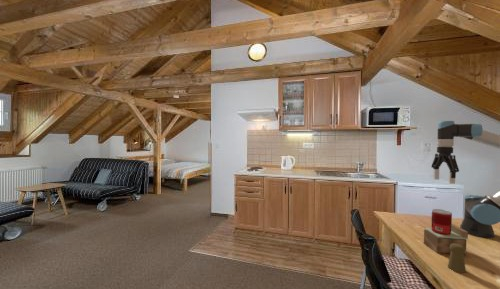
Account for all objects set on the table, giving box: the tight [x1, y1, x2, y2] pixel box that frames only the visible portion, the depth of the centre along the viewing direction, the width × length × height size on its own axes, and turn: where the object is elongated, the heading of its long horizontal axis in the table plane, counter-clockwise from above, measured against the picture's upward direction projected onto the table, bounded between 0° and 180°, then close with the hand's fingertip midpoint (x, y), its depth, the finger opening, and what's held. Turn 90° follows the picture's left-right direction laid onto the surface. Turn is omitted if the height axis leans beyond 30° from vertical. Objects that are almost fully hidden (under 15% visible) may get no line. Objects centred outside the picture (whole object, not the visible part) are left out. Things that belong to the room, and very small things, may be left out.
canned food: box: [430, 208, 453, 235], centre depth 121 cm, size 8×8×11 cm
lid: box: [424, 223, 469, 240], centre depth 121 cm, size 13×11×4 cm
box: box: [423, 229, 467, 256], centre depth 121 cm, size 13×11×8 cm
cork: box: [447, 243, 467, 274], centre depth 102 cm, size 6×6×11 cm
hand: (443, 181), depth 141 cm, fingers open, 13 cm apart
